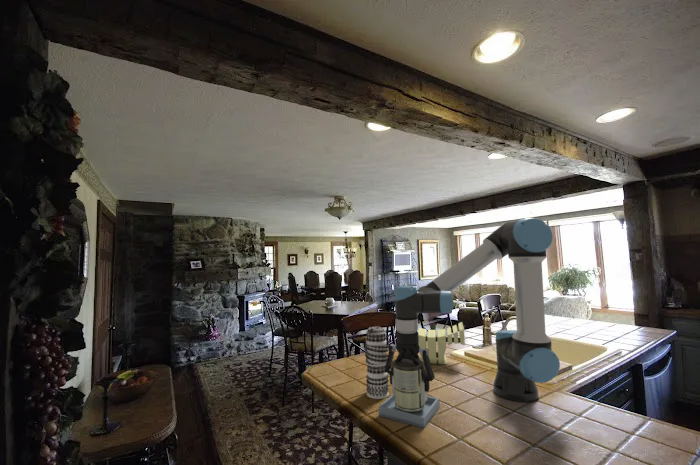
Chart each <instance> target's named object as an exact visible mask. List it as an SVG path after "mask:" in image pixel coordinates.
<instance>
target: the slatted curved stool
mask: <svg viewBox="0 0 700 465" xmlns="http://www.w3.org/2000/svg"><path fill="white" fill-rule="evenodd" d="M457 324H458V326H457ZM457 324H455V325H453V326H452V328H451V326H449V327H447V328H443V329H437V330H436V329H428V331H427V329H426V328H421V327H418V330H417V332H418V336H419V347H420V348H421V349H426V348H427V349H428V356H429V360H430V363H431V365H433V364H434V365H437V361H438V365H447V363H448V362H447V360H448V359H447V355H446V349H447V346H450V345H453V344H455V345H457V344H460V345H462V346H466V342H465V341H466V340H465V328H464V324H463V321H461V322H458V323H457ZM452 332H453V334H452ZM446 334H447V336H446ZM419 354H420V355H419V358H420V360H421V361H422V362H423V364H424V361H423V357H422V355H421V353H420V352H419Z"/></svg>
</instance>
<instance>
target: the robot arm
mask: <svg viewBox="0 0 700 465" xmlns="http://www.w3.org/2000/svg"><path fill="white" fill-rule="evenodd" d="M553 236H554V235H553V231H552V229H551V228H550V226H549V224H547V223H546V222H545V221H544V220H543V219H541V218H537V217H525V218H523V217H522V218H519V219H516V220H512V221H507V222H505V223H504V224H502V225H500V226H499V227H498V228H497V229H495V230H494V231H493V232H491V233H490V234H489V235H487V237H484V239H483V240H482V244H480V245H479V246H478V247H476V248H474V249H473V250H472V251H470V252H469V253H468V254H467V255H465V256H463V258H462V259H460V260H459V261H457V262H455V264H453V265H452V266H450V267H449V268H447V269H446V270H445V271H443V272H442V273H441V274H439V275H438V276H436V277H435V278H434V279H432V280H431V281H430V282H428V283H427V284H425V285H423V286H420V287H418V288H417V286H415V285H409V284H408V285H407V284H406V285H398V286H396V287H395V291H394V292H395V293H394V296H395V297H394V306H395V307H394V308H395V309H394V310H395V329H396V332H395V333H396V344H394V343H391V344H390V345H388V347H387V349H388V352H387V354H388V357H386V358H387V362H386V366H385V370H384V371H385V373H387V374H388V376H389V384H390V385H391V387H392V388H391V389H392V394H393V396H395V395H394V370H393V361H394V356H395V352H396V351H397V353H398V355H397V356H396V359H395V360H396V361H395V362H400V361H401V360H402V359H409V360H412V361H413V362H414V363H415V365H418V366H419V365H420V364H421V361H420V355H419V354H420V353H421V355H422V357H423V361H424V363H423V368H422V369H421V376H422V378H423V381H422V402H423V403H425V402H426V401H427V396H428V392H429V391H430V382H433V381H434V379H436V377H435V376H436V375H435V373H434V371H433V367H432V364H431V363H430V360H429V356H428V347H426V349H421V348H420V347H419V336H418V331H419V319H418V318H419V316H418V315H419V314H445V313H448V314H449V313H451V312H452V311H453V309H454V298H453V294H452V292H453V291H455V290H456V289H458V288H459V287H460V286H461V285H463V284H464V283H466V282H467V281H468V280H470V279H471V278H473V276H475V275H476V274H478V273H479V272H480V271H482V270H483V269H484V268H486V267H487V266H488V265H490V264H491V263H492V262H494V261H496V260H501V259H503V258H504V257H506V256H508V259H510V260H511V262H512V264H513V279H514V281H513V282H514V296H515V297H514V298H515V300H514V301H515V320H516V321H515V322H516V330H515V329H513V330H512V329H511V330H510V329H509V330H508V329H507V330H502V329H501V330H498V331H497V332H496V333H495V339H494V340H495V347H496V348H495V350H496V364H497V371H496V373H495V378H494V381H493V392H494V393H495V394H496V395H497V396H499V397H501V398H503V399H507V400H509V401H515V402H534V401H537V399H539V390H538V386H537V383H538V384H543V383H548V382H550V381H552V380H553V379H555V377H557V375H558V374H559V372H560V368H561V364H560V359H559V356H557V354H556V353H555V352H554V351H553V348H552V338H550V336H548V335H547V333H546V318H545V301H544V300H545V299H544V298H545V297H544V284H543V283H544V282H543V281H544V279H543V278H544V277H543V264H542V263H543V261H544V260H546V258H547V250H548V249H549V247H550V246H551V245H552V243H553Z"/></svg>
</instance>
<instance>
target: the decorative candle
mask: <svg viewBox="0 0 700 465" xmlns="http://www.w3.org/2000/svg"><path fill="white" fill-rule="evenodd" d="M365 333H366V334H365V335H366V338H365V342H364V349H365V350H364V352H365V354H364V356H365V364H366V367H367V368H366V369H367V370H366V376H365V377H366V381H365V382H366V384H365V385H366V396H367V397H369V398H371V399H375V400H379V399H385V398H387V397H389V395H390V393H389V374H388V373H385V371H384V370H385V366H386V362H387V357H388V353H389V349H388V346H389V345H388V344H387V336H386V333H387V331H386V330H385V329H384V328H383V327H382V326H369V327H368V328H367V330H366V331H365Z"/></svg>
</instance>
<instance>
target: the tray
mask: <svg viewBox="0 0 700 465" xmlns="http://www.w3.org/2000/svg"><path fill="white" fill-rule="evenodd" d="M440 404H441V402H440V398H439V397H433V396H428V395H427V401H426V402H425V407H424V408H423V409H422V410H420V411H415V412H408V411H403V410H400V409H398V408H397V407H396V406H395V396H393V393H392V394H391V395H390V396H388V398H387V399H386V400H384V401H383V402H382V403H381V404H380V405H379V406H378V416H379V417H381V418H384V417H385V419H388V418H389V420H393V421H396V422H399V423H403V424H407V425H410V426H413V427H414V426H415V427H418V428H421V429H426V427H427V426H428V424H429V423H430V422H431V421H432V418H433V417H434V416H435V414H436V413H437V412H438V410H439V409H440Z"/></svg>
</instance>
